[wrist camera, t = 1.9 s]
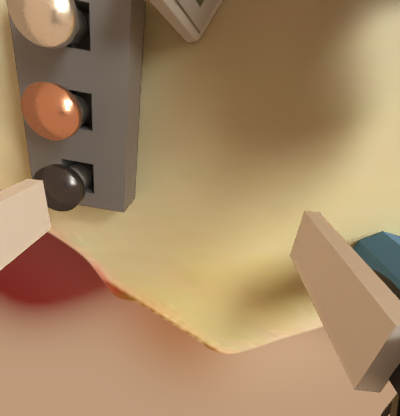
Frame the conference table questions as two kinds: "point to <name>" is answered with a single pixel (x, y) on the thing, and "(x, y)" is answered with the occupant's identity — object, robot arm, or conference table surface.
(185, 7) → the digital clock
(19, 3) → the plunger ivory
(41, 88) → the plunger terracotta
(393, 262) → the water bottle
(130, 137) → the panel
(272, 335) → the conference table surface
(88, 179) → the plunger black
